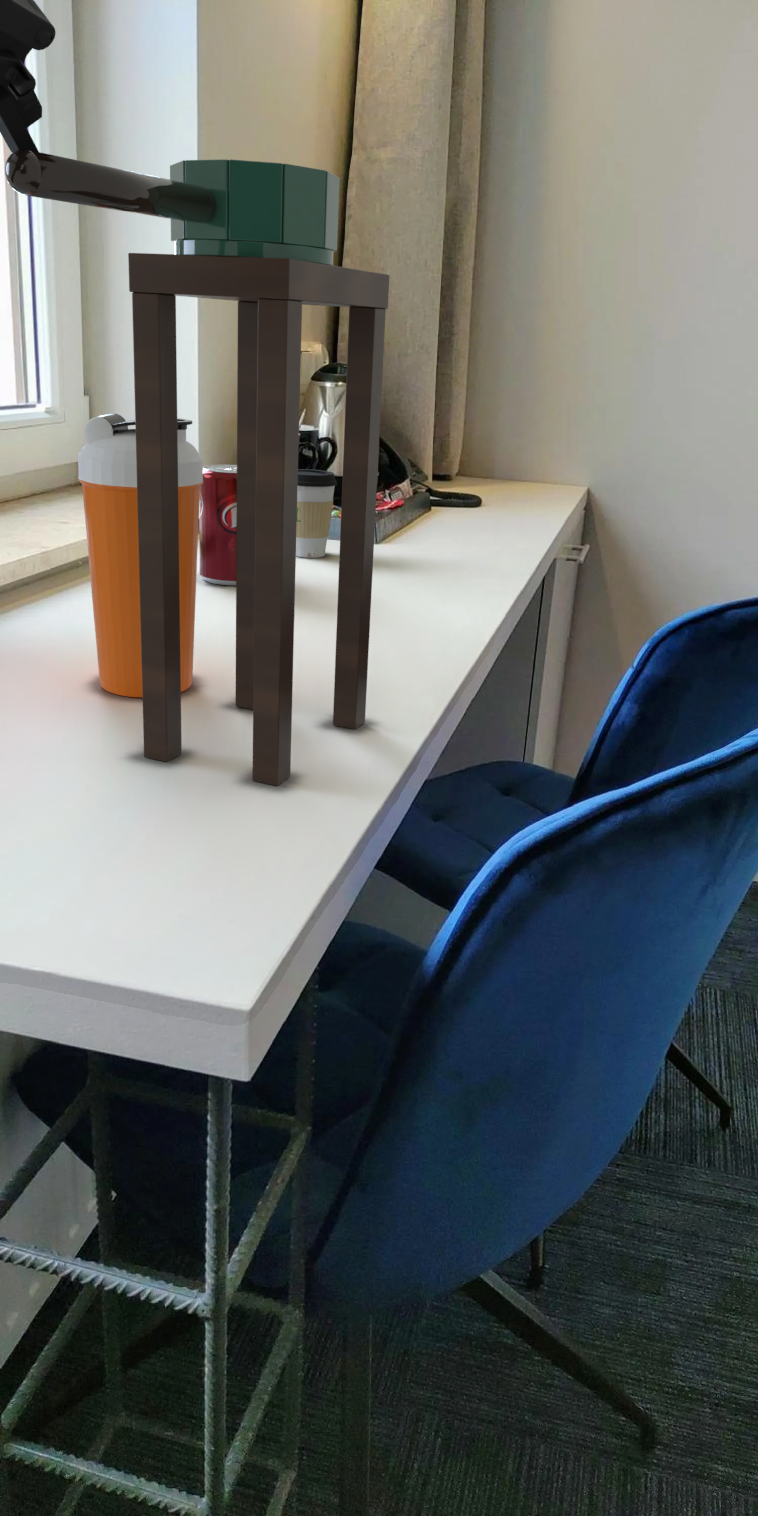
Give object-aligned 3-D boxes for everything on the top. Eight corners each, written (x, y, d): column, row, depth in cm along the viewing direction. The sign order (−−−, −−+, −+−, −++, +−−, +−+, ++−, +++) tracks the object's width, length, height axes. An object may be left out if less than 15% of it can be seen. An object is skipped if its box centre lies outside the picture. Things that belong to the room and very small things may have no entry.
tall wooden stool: (278, 787, 69) (289, 258, 58) (141, 757, 72) (127, 252, 61) (367, 722, 81) (389, 274, 70) (246, 699, 84) (250, 269, 74)
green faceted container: (235, 265, 69) (235, 182, 68) (365, 269, 65) (368, 181, 64) (-60, 229, 51) (-69, 115, 49) (94, 231, 47) (89, 107, 45)
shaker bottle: (200, 703, 83) (198, 425, 76) (78, 700, 82) (64, 418, 75) (207, 669, 91) (206, 414, 84) (96, 666, 90) (86, 409, 83)
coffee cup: (295, 547, 142) (297, 467, 139) (342, 553, 140) (345, 472, 137) (272, 555, 137) (274, 472, 133) (321, 561, 134) (324, 477, 131)
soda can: (185, 578, 122) (184, 466, 118) (230, 569, 128) (230, 462, 123) (235, 589, 118) (236, 474, 114) (279, 580, 124) (281, 469, 120)
